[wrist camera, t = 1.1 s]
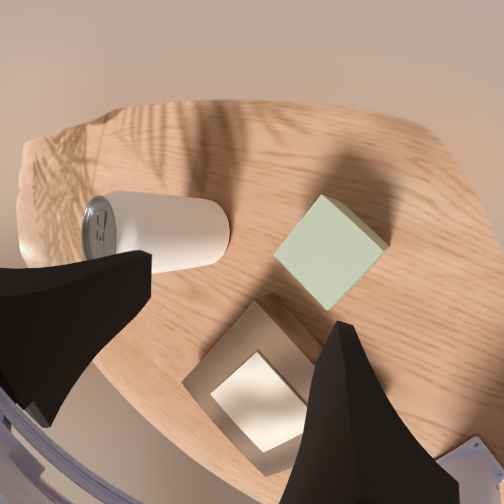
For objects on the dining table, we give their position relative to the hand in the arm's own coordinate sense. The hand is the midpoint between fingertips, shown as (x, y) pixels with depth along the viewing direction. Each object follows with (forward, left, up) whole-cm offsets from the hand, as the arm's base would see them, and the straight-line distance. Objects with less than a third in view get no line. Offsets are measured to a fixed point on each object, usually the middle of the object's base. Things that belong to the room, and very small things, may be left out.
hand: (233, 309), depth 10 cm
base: (-5, +12, -13) cm, 19 cm away
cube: (0, -2, -13) cm, 13 cm away
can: (+11, +7, -13) cm, 19 cm away
